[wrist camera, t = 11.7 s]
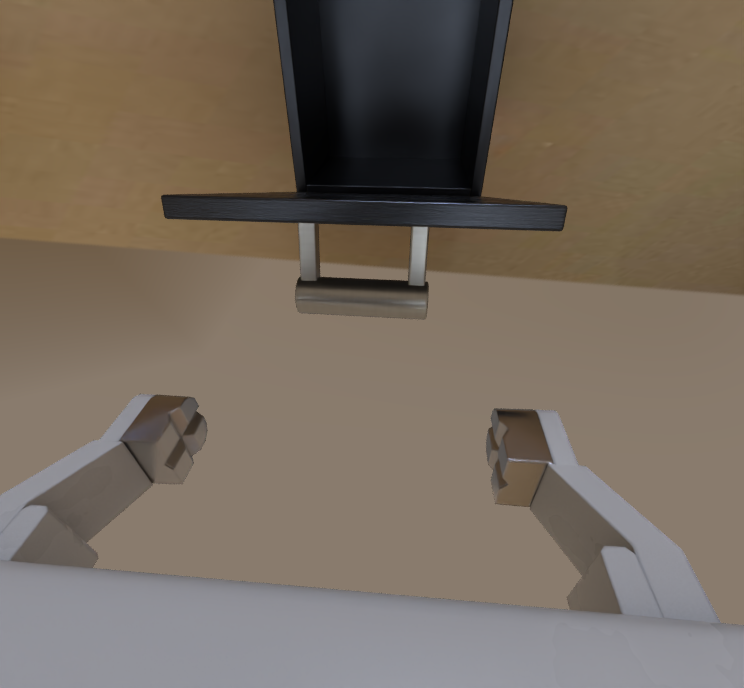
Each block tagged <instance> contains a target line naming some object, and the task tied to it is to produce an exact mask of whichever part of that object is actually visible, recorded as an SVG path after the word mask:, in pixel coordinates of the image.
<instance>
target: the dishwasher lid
mask: <svg viewBox="0 0 744 688" xmlns="http://www.w3.org/2000/svg"><path fill="white" fill-rule="evenodd" d="M161 199H162V205H163V211H164V216H165V218H167V219H187V220H218V221H250V222H281V223H298V232H299V253H300V272H301V277H299V279H298V281H297V285H296V290H295V300H296V307H297V310H298V312H299V313H308V314H327V315H329V314H330V315H346V316H367V317H386V318H405V319H423V320H424V319H426V316H427V308H428V290H429V286H428V282H425V277H426V265H427V252H428V238H429V227H439V228H470V229H502V230H533V231H562V230H563V227H564V222H565V217H566V212H567V206H565V205H558V204H549V203H539V202H530V201H520V200H510V199H501V198H491V197H482V196H444V195H403V194H363V193H322V192H266V193H219V194H173V195H162V196H161ZM319 224H344V225H376V226H407V227H411V239H410V256H409V275H408V281H400V280H378V279H355V278H332V277H320V253H319Z"/></svg>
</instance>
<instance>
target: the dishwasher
mask: <svg viewBox="0 0 744 688" xmlns="http://www.w3.org/2000/svg"><path fill="white" fill-rule="evenodd" d="M273 2H274V10H275V18H276V27H277V35H278V43H279V51H280V59H281V67H282V75H283V83H284V91H285V99H286V107H287V115H288V123H289V132H290V140H291V148H292V156H293V164H294V172H295V180H296V188H297V192H322V193H363V194H403V195H444V196H481V193H482V187H483V181H484V175H485V169H486V163H487V157H488V151H489V145H490V139H491V133H492V127H493V121H494V115H495V109H496V103H497V97H498V91H499V85H500V79H501V73H502V67H503V61H504V55H505V49H506V43H507V37H508V31H509V24H510V18H511V12H512V6H513V0H273Z"/></svg>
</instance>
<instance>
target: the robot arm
mask: <svg viewBox="0 0 744 688" xmlns="http://www.w3.org/2000/svg"><path fill="white" fill-rule="evenodd" d="M198 407H199V406H198V403H197V402H196V400H195V398H192V397H183V396H169V395H168V396H167V395H149V394H139V395H138V396H135V397H134V398H133V399H132V400H131V401H130V402H129V404H128V405H127V406H126V407H125V409H124V410H123V411H122V412H121V414H120V415H119V416H118V417H117V419H116V420H115V421H114V422H113V423H112V425H111V426H110V427H109V428H108V430H107V431H106V432H105V434H104V435H103V436H102V437H101V438H100V440H93V441H92V442H90V443H88V444H86V445H85V446H83V447H81V448H80V449H78V450H76V451H74V452H73V453H71V454H69V455H68V456H66V457H64V458H62V459H61V460H59V461H57V462H56V463H54V464H52V465H51V466H49V467H47V468H45V469H44V470H42V471H40V472H39V473H37V474H35V475H34V476H32V477H30V478H29V479H27V480H25V481H23V482H22V483H20V484H18V485H17V486H15V487H13V488H11V489H10V490H8V491H6V492H5V493H3V494H1V495H0V688H744V625H738V624H726V623H721V622H720V620H719V619H718V617H717V615H716V613H715V611H714V609H713V607H712V605H711V603H710V602H709V600H708V598H707V596H706V594H705V592H704V590H703V588H702V586H701V584H700V583H699V581H698V579H697V577H696V575H695V573H694V571H693V569H692V567H691V565H690V564H689V562H688V560H687V558H686V556H685V554H684V552H683V550H682V549H681V548H679V547H678V546H677V545H676V544H675V543H674V542H672V541H671V540H670V539H669V538H668V537H667V536H666V535H665V534H663V533H662V532H661V531H660V530H659V529H658V528H656V527H655V526H654V525H653V524H652V523H651V522H649V521H648V520H647V519H646V518H645V517H644V516H642V515H641V514H640V513H639V512H638V511H637V510H635V509H634V508H633V507H632V506H631V505H630V504H629V503H628V502H626V501H625V500H624V499H623V498H622V497H621V496H619V495H618V494H617V493H616V492H615V491H614V490H612V489H611V488H610V487H609V486H608V485H607V484H606V483H604V482H603V481H602V480H601V479H600V478H598V477H597V476H596V475H595V474H594V473H593V472H592V471H591V470H589V469H588V468H587V467H586V466H579V464H578V462H577V459H576V457H575V455H574V452H573V450H572V447H571V444H570V442H569V439H568V437H567V434H566V432H565V429H564V427H563V424H562V422H561V419H560V417H559V414H558V413H557V412H556V411H555V410H532V409H497V408H496V409H494V410H493V411H492V415H491V422H492V427H491V428H489V429H488V433H487V440H486V453H487V461H488V465H489V466H490V467H491V468H492V469H493V474H492V477H491V484H492V489H493V495H494V500H495V504H501V505H512V506H524V507H530V510H531V511H532V512H533V514H534V515H535V516H536V517H537V519H538V520H539V521H540V523H541V524H542V525H543V526H544V528H545V529H546V530H547V532H548V533H549V534H550V535H551V537H552V538H553V539H554V540H555V542H556V543H557V544H558V546H559V547H560V548H561V549H562V551H563V552H564V553H565V554H566V556H567V557H568V558H569V560H570V561H571V562H572V563H573V565H574V566H575V567H576V568H577V570H578V571H579V572H580V574H581V575H582V577H581V579H580V580H579V581H578V583H577V584H576V586H575V587H574V588H573V590H572V591H571V592H570V594H569V595H568V596H567V600H568V604H569V607H570V610H567V609H555V608H544V607H532V606H521V605H509V604H498V603H487V602H475V601H464V600H451V599H441V598H429V597H418V596H406V595H395V594H383V593H372V592H361V591H349V590H338V589H326V588H315V587H304V586H292V585H281V584H270V583H258V582H246V581H234V580H224V579H213V578H200V577H190V576H178V575H166V574H154V573H144V572H131V571H120V570H109V569H97V568H93V566H94V565H95V563H96V561H97V560H98V554H97V552H96V551H94V549H92V548H91V547H90V546H89V545H88V544H87V542H88V541H89V540H90V539H91V538H92V537H94V536H95V535H96V534H97V533H98V532H100V531H101V530H102V529H103V528H104V527H105V526H106V525H108V524H109V523H110V522H111V521H112V520H113V519H114V518H116V517H117V516H118V515H119V514H120V513H121V512H122V511H124V510H125V509H126V508H127V507H128V506H129V505H131V504H132V503H133V502H134V501H135V500H136V499H137V498H139V497H140V496H141V495H142V494H143V493H144V492H145V491H147V490H148V489H149V488H150V487H151V486H152V485H153V484H152V483H158V484H183V482H184V480H185V479H186V477H187V475H188V473H189V471H190V469H191V467H192V466H193V463H194V462H193V458H192V456H193V455H194V454H196V453H197V452H198V451H199V450H201V449H202V446H203V444H204V443H205V441H206V435H207V423H206V421H205V418H204V417H203V416H202V415H201V414H199V413H198V412H197V411H196V410H197V409H198Z"/></svg>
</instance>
